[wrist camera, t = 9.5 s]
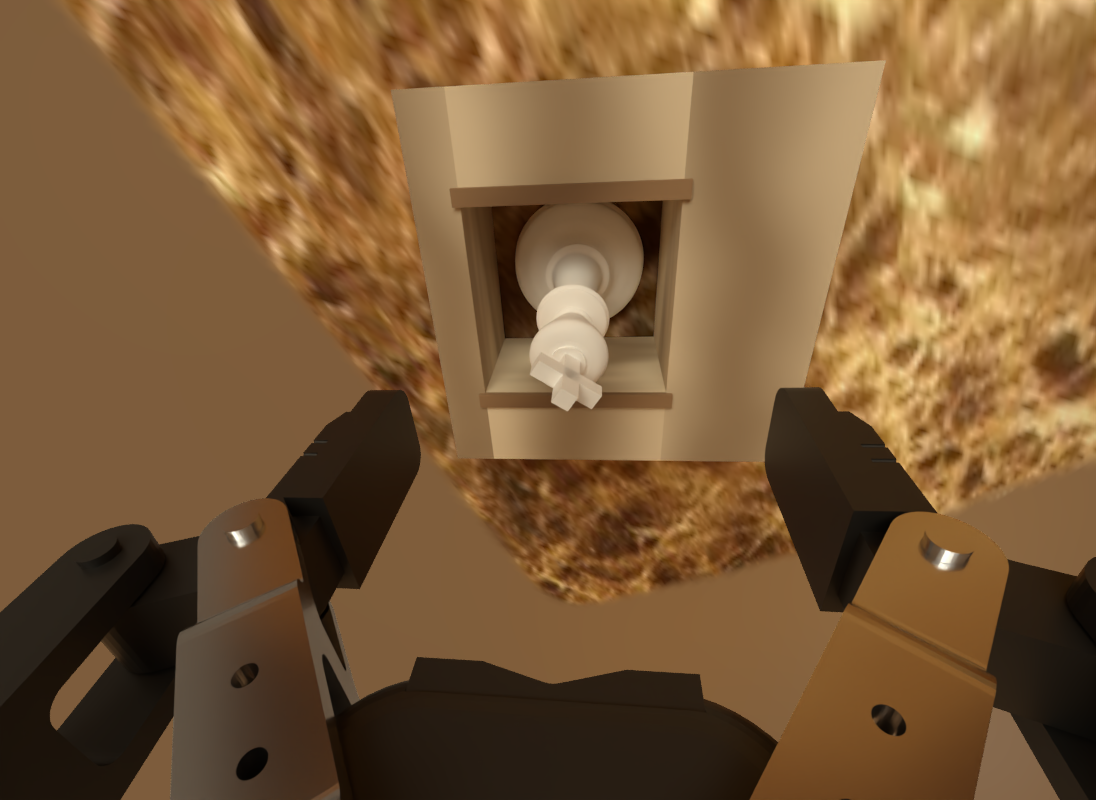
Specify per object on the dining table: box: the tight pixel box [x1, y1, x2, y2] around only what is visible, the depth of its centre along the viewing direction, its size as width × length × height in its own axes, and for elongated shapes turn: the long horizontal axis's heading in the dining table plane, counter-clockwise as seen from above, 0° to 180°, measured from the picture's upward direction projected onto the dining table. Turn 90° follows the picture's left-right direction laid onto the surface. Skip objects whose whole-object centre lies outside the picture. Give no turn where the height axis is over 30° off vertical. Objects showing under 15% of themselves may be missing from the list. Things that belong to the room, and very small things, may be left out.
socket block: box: [391, 60, 886, 462], centre depth 17 cm, size 12×12×5 cm
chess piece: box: [515, 202, 644, 411], centre depth 15 cm, size 5×5×10 cm
